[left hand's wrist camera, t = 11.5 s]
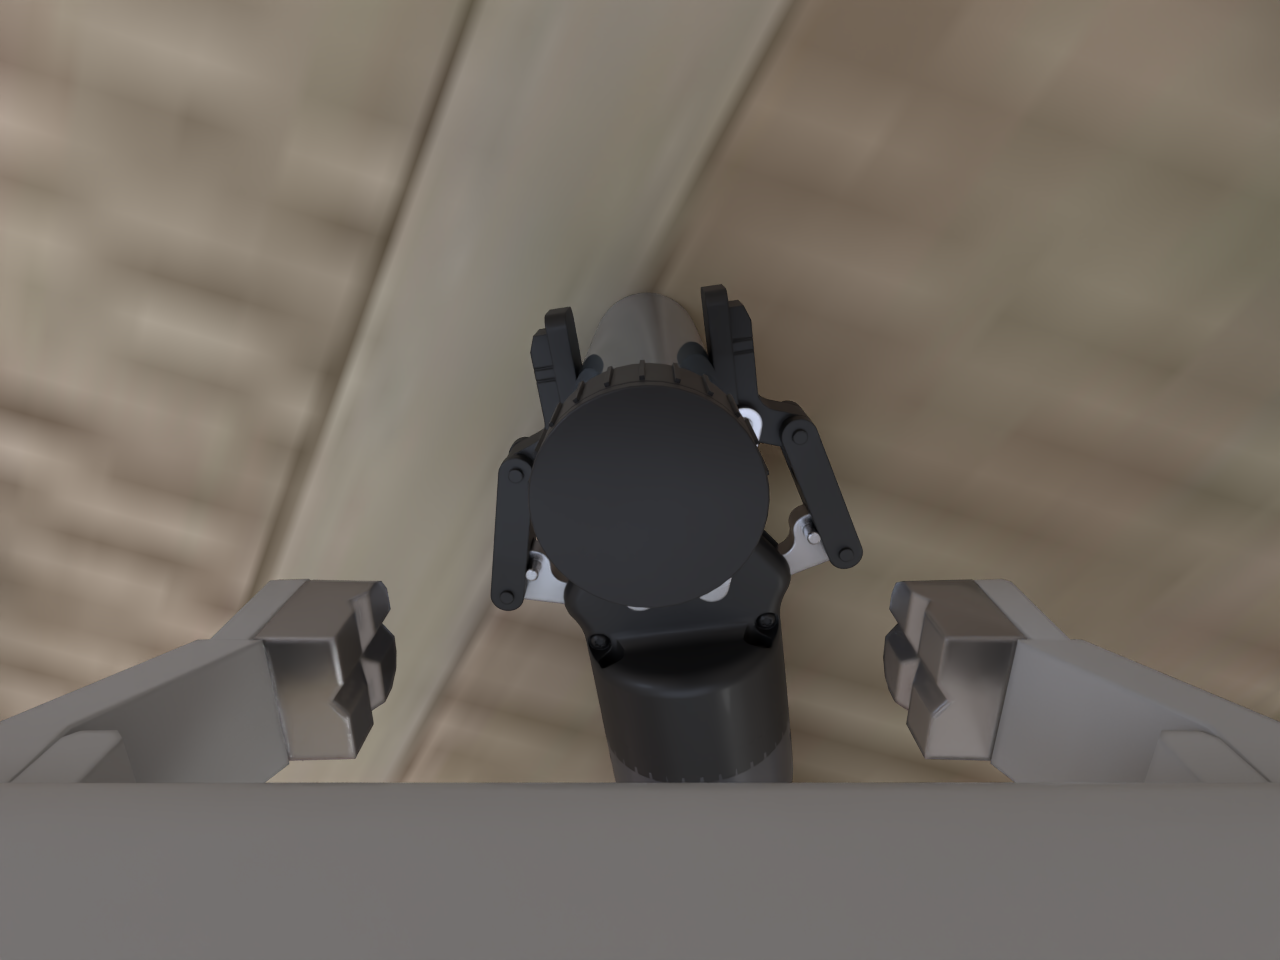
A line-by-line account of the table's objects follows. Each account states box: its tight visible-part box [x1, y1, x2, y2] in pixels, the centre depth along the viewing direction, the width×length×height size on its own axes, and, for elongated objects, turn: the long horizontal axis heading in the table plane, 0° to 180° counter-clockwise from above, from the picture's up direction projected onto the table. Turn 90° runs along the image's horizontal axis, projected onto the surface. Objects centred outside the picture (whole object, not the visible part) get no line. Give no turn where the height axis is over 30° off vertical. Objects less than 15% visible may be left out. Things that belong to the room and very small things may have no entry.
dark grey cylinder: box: [571, 293, 724, 394], centre depth 22 cm, size 4×4×17 cm
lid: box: [527, 360, 769, 608], centre depth 15 cm, size 5×5×2 cm
